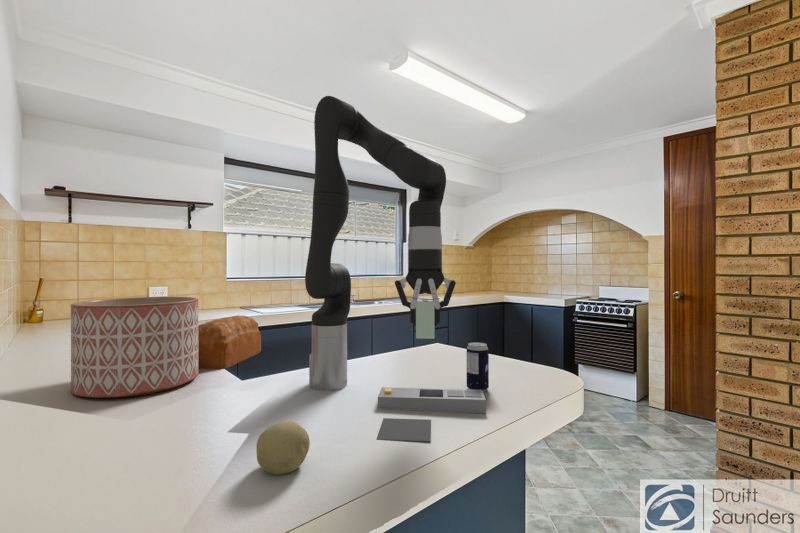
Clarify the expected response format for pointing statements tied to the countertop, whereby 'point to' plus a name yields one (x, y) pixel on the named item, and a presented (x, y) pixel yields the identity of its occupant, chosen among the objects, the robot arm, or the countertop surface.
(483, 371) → the beverage can
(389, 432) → the mat
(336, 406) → the countertop surface
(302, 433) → the potato
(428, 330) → the block
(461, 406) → the strip
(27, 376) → the countertop surface
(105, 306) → the planter
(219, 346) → the bread
